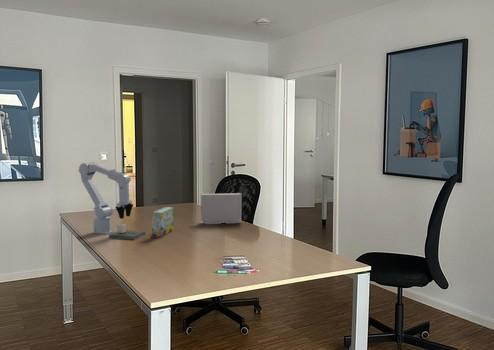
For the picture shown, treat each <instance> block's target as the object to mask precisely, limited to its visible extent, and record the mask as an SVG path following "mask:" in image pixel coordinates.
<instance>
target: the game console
mask: <svg viewBox="0 0 494 350" xmlns="http://www.w3.org/2000/svg"><path fill="white" fill-rule="evenodd" d="M242 195H243V194H242V193H241V192H236V193H235V192H234V193H233V192H232V193H200V220H201V221H202V222H203V224H205V225H217V224H218V225H220V224H221V223H226V224H241V223H242V221H243V220H242V209H243V207H242V200H243V196H242Z"/></svg>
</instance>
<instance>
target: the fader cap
mask: <svg viewBox="0 0 494 350" xmlns="http://www.w3.org/2000/svg"><path fill="white" fill-rule="evenodd" d="M126 230H127V224H126V223H119V224H116V232H117V233H124V232H126Z"/></svg>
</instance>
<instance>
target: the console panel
mask: <svg viewBox="0 0 494 350" xmlns="http://www.w3.org/2000/svg"><path fill="white" fill-rule="evenodd" d="M144 236H146V231H144V230H133V229H132V230H131V229H130V230H129V229H128V230H127V229H126V232H124V233H117V231H115V232H114V231H113V232H111V233H109V235H108V238H109V239H117V240H118V239H119V240H130V241H133V240H134V241H135V240H138V239H140V238H142V237H144Z"/></svg>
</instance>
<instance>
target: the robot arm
mask: <svg viewBox="0 0 494 350" xmlns="http://www.w3.org/2000/svg"><path fill="white" fill-rule="evenodd" d="M78 172H79V174H80V179H81V183H82V184H83V187H85V189H86V191H87V192H88V193H87V194H89V197H90V199H91V200H92V202H93V203H94V205H95V206H94V208H93V210H94V213H95V218H94V220H93V232H92V233H93V234H98V235H99V234H100V235H108V234H112V233H114V230H111V225H112V224H111V221H112V220H111V217H112V215H113V212H114V210H113V208H112V207H111V206H110V204H108V203H107V202H106V201H104V199H103V197H102V196H101V194H100V192H99V190H98V188H97V187H96V185H95V183H94V181H93V176H94V175H95V173H96V172H97V173H99V174H102V175H105V176H107V178H108V179H110V180H112V181H114V182H116V183H117V186H118V195H119V196H118V198H119V199H118V200H119V202H118V203H116V206H115V210H116V212H117V214H118V217H119V219H124V217H125V216H126V217H131V214H132V213H131V212H132V209H133V207H134V204H133V200H132V199H131V200H130V185H129V184H130V182H131V176H130V175H129V174H127V173H123V172H119V171H117V169H116V168H115V169H114V168H113V169H108V168H106V167H104V166H102V165H100V164H98V163H95V162H82V163H81V164H80V165H79V168H78Z"/></svg>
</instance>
